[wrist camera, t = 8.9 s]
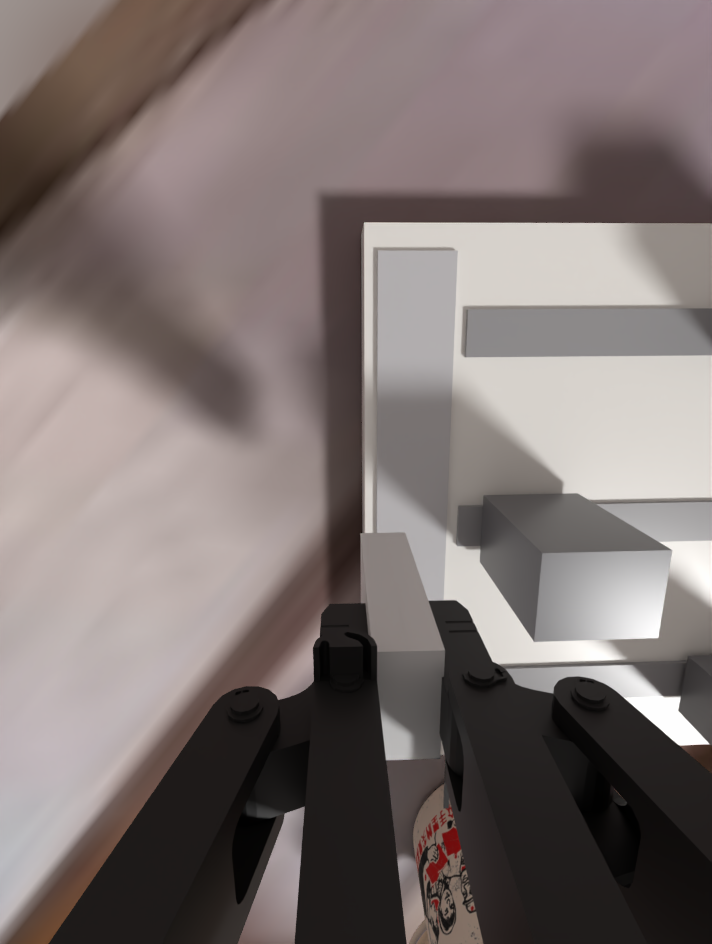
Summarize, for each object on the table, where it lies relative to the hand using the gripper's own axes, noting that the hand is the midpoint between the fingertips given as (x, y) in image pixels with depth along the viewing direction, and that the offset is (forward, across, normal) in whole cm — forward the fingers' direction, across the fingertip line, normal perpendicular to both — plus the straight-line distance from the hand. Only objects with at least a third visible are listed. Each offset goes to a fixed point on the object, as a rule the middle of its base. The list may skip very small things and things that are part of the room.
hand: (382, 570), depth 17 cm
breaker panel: (+7, +12, 0) cm, 13 cm away
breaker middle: (+4, +7, 0) cm, 8 cm away
